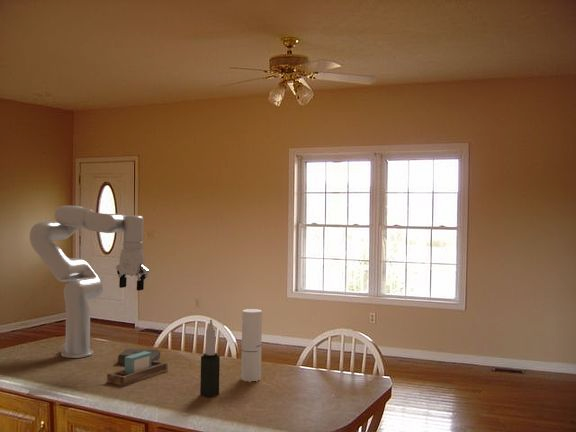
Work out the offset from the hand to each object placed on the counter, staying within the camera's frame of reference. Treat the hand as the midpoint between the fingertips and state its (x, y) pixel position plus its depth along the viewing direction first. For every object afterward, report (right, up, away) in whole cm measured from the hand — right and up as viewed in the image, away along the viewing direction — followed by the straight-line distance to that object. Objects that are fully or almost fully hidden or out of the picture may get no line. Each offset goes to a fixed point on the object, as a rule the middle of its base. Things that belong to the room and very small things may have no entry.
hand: (131, 288), depth 227 cm
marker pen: (+37, -30, -39) cm, 62 cm away
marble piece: (+3, -30, 0) cm, 30 cm away
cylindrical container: (+49, -31, -21) cm, 62 cm away
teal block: (+8, -29, -20) cm, 36 cm away
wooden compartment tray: (+8, -30, -20) cm, 37 cm away
